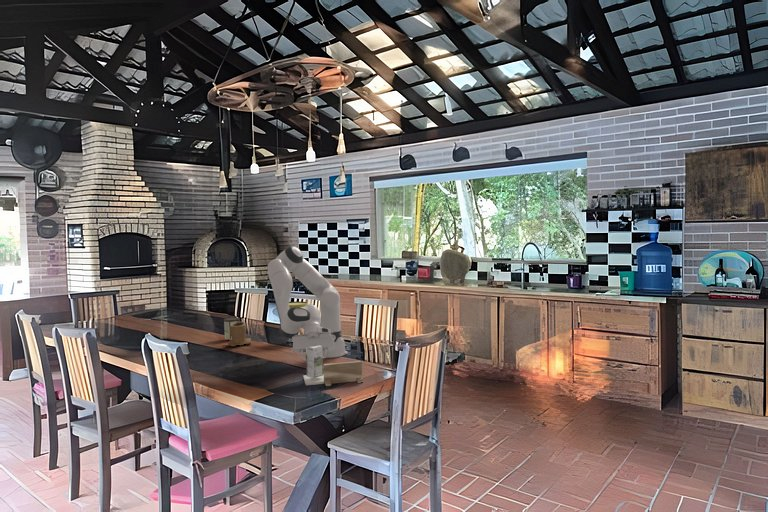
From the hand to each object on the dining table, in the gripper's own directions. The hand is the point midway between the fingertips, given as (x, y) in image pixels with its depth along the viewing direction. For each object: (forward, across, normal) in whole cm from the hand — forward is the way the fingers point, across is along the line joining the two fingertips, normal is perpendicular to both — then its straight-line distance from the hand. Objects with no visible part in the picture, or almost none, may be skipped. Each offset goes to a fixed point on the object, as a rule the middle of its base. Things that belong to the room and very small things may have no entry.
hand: (314, 358), depth 248 cm
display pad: (+7, 0, +8) cm, 11 cm away
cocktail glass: (-59, -9, +74) cm, 95 cm away
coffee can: (-72, -50, +88) cm, 124 cm away
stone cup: (-58, -42, +73) cm, 102 cm away
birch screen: (+13, +13, +3) cm, 18 cm away
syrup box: (+6, 0, +6) cm, 9 cm away
